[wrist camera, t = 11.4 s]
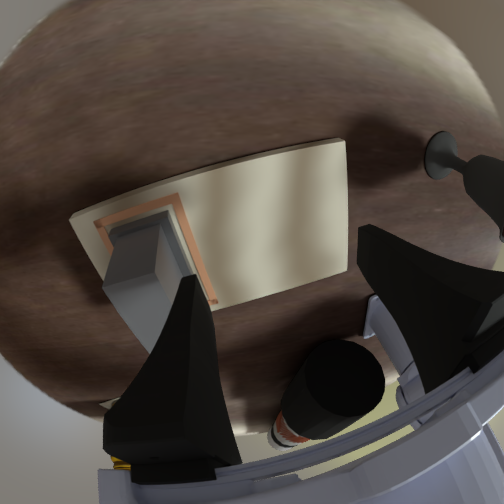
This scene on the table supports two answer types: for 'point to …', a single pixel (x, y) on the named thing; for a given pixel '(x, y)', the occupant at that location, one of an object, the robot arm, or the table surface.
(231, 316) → the table surface
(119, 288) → the block
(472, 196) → the sundae
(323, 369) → the striped banded cylinder
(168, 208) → the board
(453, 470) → the robot arm
